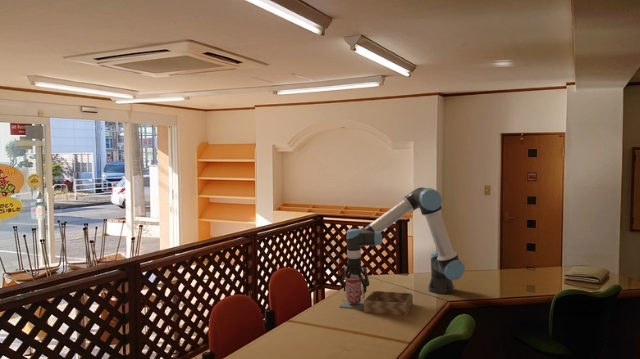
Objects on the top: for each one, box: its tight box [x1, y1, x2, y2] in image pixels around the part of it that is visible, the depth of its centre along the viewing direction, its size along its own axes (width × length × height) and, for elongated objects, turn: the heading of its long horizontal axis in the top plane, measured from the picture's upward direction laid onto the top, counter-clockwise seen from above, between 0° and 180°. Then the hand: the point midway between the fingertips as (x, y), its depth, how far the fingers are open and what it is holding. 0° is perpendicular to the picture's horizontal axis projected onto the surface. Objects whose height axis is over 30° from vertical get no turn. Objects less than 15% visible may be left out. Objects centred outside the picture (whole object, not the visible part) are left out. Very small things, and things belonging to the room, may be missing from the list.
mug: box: [344, 274, 366, 303], centre depth 263 cm, size 13×9×14 cm
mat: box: [339, 299, 365, 310], centre depth 263 cm, size 14×14×1 cm
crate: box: [363, 290, 414, 317], centre depth 256 cm, size 22×20×6 cm
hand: (355, 297), depth 263 cm, fingers closed on mug, 9 cm apart
